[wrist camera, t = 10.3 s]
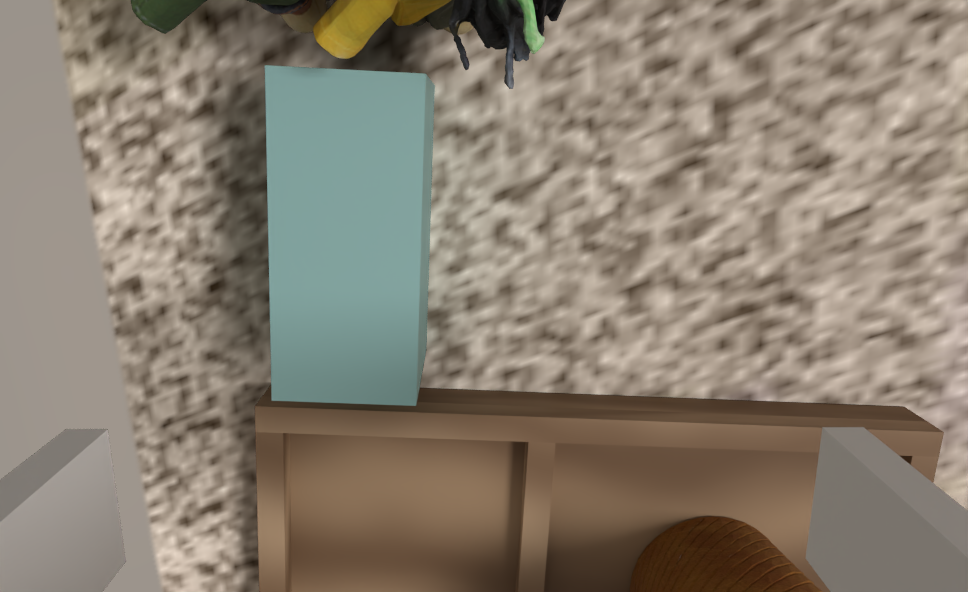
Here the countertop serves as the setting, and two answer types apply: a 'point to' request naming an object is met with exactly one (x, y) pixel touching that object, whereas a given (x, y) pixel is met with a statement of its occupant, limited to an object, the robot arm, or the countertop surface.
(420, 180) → the teal rectangular block
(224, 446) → the countertop surface
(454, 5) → the doll family
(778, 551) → the disposable coffee cup
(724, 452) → the divided compartment tray
